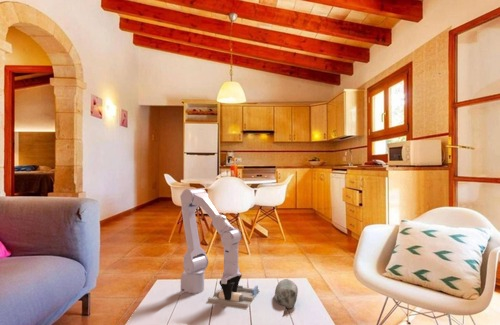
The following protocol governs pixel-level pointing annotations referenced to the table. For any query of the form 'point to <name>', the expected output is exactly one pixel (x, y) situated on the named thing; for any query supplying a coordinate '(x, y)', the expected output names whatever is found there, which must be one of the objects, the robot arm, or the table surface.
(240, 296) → the cream cylinder
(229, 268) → the robot arm
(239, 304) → the beige mounting plate
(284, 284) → the mottled grey stone
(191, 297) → the table surface
